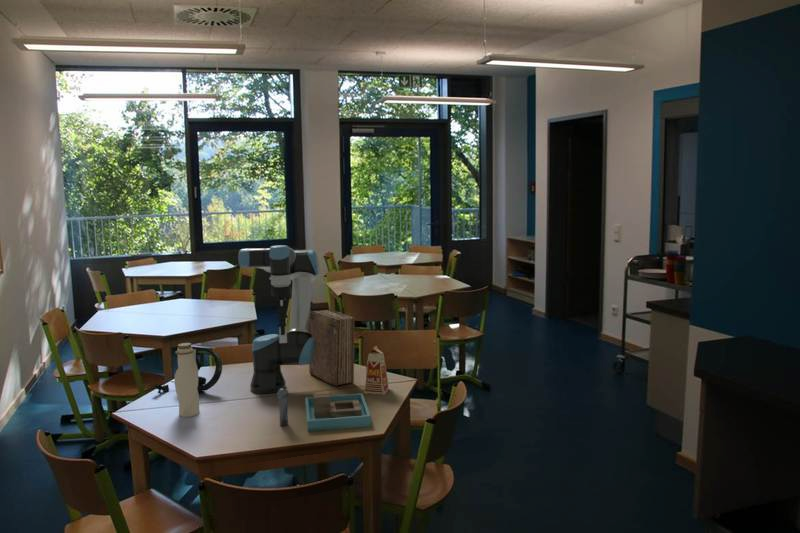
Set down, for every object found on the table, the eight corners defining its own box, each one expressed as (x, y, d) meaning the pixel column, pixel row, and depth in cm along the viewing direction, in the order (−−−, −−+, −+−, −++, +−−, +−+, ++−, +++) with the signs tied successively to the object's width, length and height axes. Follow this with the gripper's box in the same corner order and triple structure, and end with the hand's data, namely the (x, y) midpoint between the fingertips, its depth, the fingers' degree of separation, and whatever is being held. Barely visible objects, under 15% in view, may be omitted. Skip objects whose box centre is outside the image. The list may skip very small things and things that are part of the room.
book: (354, 383, 295) (354, 317, 291) (335, 387, 289) (336, 319, 286) (326, 370, 315) (326, 308, 312) (309, 373, 310) (309, 310, 307)
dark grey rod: (278, 423, 250) (276, 387, 248) (289, 422, 250) (287, 386, 248) (278, 426, 246) (276, 390, 244) (289, 426, 246) (287, 389, 244)
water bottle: (180, 408, 267) (176, 341, 263) (203, 407, 268) (199, 340, 264) (174, 418, 257) (169, 347, 253) (198, 416, 258) (193, 346, 254)
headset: (176, 409, 292) (230, 380, 287) (155, 406, 279) (212, 375, 275) (167, 372, 299) (220, 343, 294) (146, 368, 287) (201, 337, 282)
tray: (305, 407, 266) (305, 397, 266) (362, 402, 270) (362, 393, 269) (307, 431, 241) (307, 421, 240) (370, 426, 244) (370, 415, 244)
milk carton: (384, 394, 279) (383, 348, 277) (363, 393, 281) (362, 347, 278) (389, 387, 288) (388, 342, 285) (368, 386, 290) (367, 342, 287)
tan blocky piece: (313, 410, 260) (313, 390, 258) (358, 406, 262) (357, 387, 261) (315, 421, 248) (314, 400, 247) (361, 417, 251) (361, 397, 250)
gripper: (271, 280, 269) (274, 331, 272) (270, 291, 245) (273, 347, 248) (290, 279, 271) (292, 330, 274) (290, 290, 246) (293, 345, 249)
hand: (283, 338), depth 261 cm, fingers open, 13 cm apart
